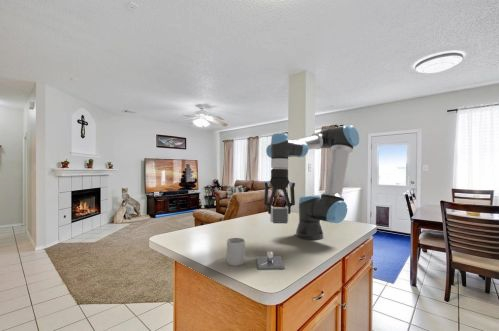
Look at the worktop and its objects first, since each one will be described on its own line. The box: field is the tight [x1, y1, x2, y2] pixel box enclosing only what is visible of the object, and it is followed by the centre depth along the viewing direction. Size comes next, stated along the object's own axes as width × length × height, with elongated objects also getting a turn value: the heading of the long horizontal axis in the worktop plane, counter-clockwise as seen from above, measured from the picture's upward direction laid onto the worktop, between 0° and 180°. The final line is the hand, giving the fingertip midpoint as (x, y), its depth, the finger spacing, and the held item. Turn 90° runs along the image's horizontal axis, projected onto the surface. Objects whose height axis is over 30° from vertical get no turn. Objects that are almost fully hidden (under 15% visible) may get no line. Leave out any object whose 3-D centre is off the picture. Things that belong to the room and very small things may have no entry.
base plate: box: [256, 250, 286, 270], centre depth 91 cm, size 10×10×4 cm
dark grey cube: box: [272, 206, 288, 224], centre depth 99 cm, size 6×6×6 cm
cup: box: [226, 237, 246, 267], centre depth 93 cm, size 7×10×9 cm
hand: (279, 221), depth 99 cm, fingers closed on dark grey cube, 6 cm apart
